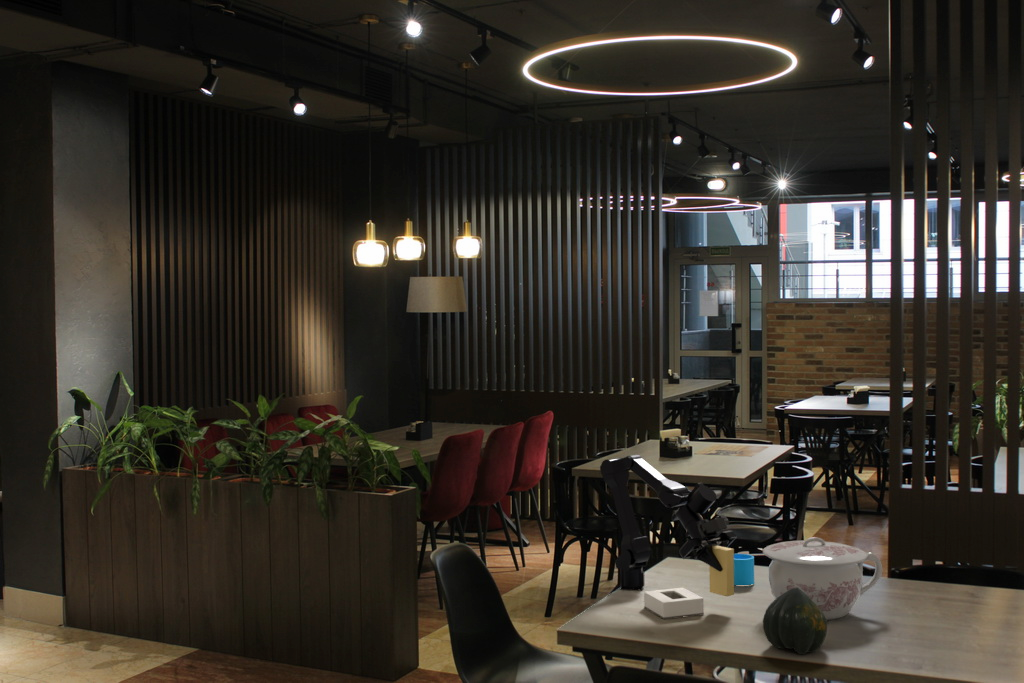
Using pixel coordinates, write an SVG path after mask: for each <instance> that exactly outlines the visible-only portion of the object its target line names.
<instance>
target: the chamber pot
mask: <svg viewBox="0 0 1024 683" xmlns="http://www.w3.org/2000/svg"><path fill="white" fill-rule="evenodd" d="M762 554H763V555H765V556H766V557H768V558H769V559H771V561H770V564H769V566H768V567H767V568H768V581H769V585H770V589H771V594H772V595H773V597H774V600H775V599H776V598H777V597H779V596H780V595H782V594H783V593H785V592H786V591H788V590H790V589H792V588H796V587H798V588H799V589H801V590H802V591H803V592H804V593H805V594H806V595H807V596H808V597H809V598H810V599H811V600H812V601H813V602H814V603H815V604H816V605H817V606H818V607H819V608H820V609H821V610H822V612H823V613H824V615H825V617H826V621H830V620H836V619H840V618H842V617H846V616H847V615H848V614H849V613H850V612H851V611H852V610H853V608H854V606H855V605H856V603H857V602H858V600H859V599H860V598H861V597H862V595H864V594H865V593H866V592H867V591H869V589H871V588H873V587H874V586H875V585H876V584H877V583H878V581H879V580H880V579H881V577H882V574H883V565H882V562H881V560H880V558H879V557H878V556H877V554H875V553H872V552H869V551H868V552H866V550H865V551H864V550H862V549H861V548H858V547H855V546H852V545H848V544H845V543H840V542H833V541H825V540H824V539H823V538H820V537H815V536H814V537H809V538H807V539H805V540H790V541H789V540H788V541H781V542H777V543H773V544H770V545H766V547H764V548H763V549H762ZM867 561H871V562H874V567H875V568H874V569H875V571H874V574H873V576H872V577H871V578H870V579H869V580H868V582H866V583H864V582H863V580H864V579H863V578H864V577H863V575H864V574H863V571H864V569H863V568H864V567H863V566H864V563H865V562H867ZM863 583H864V584H863Z"/></svg>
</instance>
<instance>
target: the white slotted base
mask: <svg viewBox="0 0 1024 683" xmlns="http://www.w3.org/2000/svg"><path fill="white" fill-rule="evenodd" d="M643 594H644V595H643V602H644V603H643V605H644V607H643V608H644V609H646V610H647V609H648V610H647V611H649V612H650V613H652V612H653V613H652V614H654V615H656V616H657V615H658V616H657V617H659V616H660V617H659V618H661V619H662V618H663V620H668V619H667V618H671V619H675V618H674V617H680V618H684V617H683V616H688V617H694V616H693V615H697V616H703V615H702V614H705V613H704V610H705V608H704V607H705V606H704V597H702V596H700V595H698V594H697V593H694V592H692V591H690V590H688V589H686V588H685V587H677V588H667V589H666V588H665V589H657V590H656V589H655V590H647V591H643Z"/></svg>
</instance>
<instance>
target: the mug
mask: <svg viewBox="0 0 1024 683" xmlns="http://www.w3.org/2000/svg"><path fill="white" fill-rule="evenodd" d="M751 584H754V585H755V556H753V555H751V554H747V553H734V585H751Z"/></svg>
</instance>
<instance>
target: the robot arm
mask: <svg viewBox="0 0 1024 683" xmlns="http://www.w3.org/2000/svg"><path fill="white" fill-rule="evenodd" d="M599 470H600V474H601V476H602V479H603V482H604V483H605V484H606V485H607V486H608V487H609V488H610V490H611V493H612V497H613V502H614V505H615V509H616V513H617V517H618V521H619V526H620V529H621V535H622V538H621V542H620V554H619V556H618V557H617V558H616V559H615V561H614V563H615V567H616V569H619V570H620V586H619V589H620V588H621V589H620V590H625V591H626V590H628V591H629V590H631V591H642V590H643V587H645V583H646V582H645V571H643V567H646V566H648V562H649V560H650V557H651V550H652V547H651V545H650V543H649V542H650V541H649V537H648V536H647V535H645V536H643V535H642V533H641V532H640V530H639V527H638V523H637V519H636V515H635V511H634V507H633V503H632V499H631V495H630V492H629V488H628V483H629V480H630V471H631V472H632V473H633V474H635V475H636V476H637V477H638V478H639V479H641V480H642V481H643V482H644V483H645V484H646V485H648V486H649V487H651V489H653V490H654V491H655V492H656V495H657V498H658V500H659V501H660V502H661V503H662V504H663V505H664V506H665V507H666V508H669V509H671V508H674V507H678V508H677V509H676V510H672V515H671V521H672V522H673V521H678V520H679V521H680V523H681V525H682V526H683V528H684V529H685V533H684V535H685V536H686V537H690V538H689V539H687V540H686V541H685V542H684V543H683V545H682V546H681V547H680V548H679V555H680V556H681V558H682V559H683V560H685V559H690V558H691V556H692V552H694V551H695V552H694V553H695V555H694V557H693V558H694V559H695V560H699V561H701V562H702V563H704V564H706V565H708V566H709V565H710V566H711V567H713V568H715V569H716V570H718V571H720V572H721V571H722V570H723V568H722V566H721V564H720V563H719V561H718V559H717V558H716V556H715V554H714V553H713V549H712V546H716V545H717V546H722V547H726V548H729V546H730V545H731V544H732V543H734V541H735V540H736V539H737V538H738V536H737V534H736V533H735V532H734V531H733V530H726V529H728V526H729V524H730V521H729V519H728V517H727V516H726V515H725V514H720V515H718V516H716V517H715V518H714V519H710V520H709V519H704V518H703V516H702V515H701V514H705V513H706V512H707V510H708V509H709V508H710V507H712V505H713V504H714V503H715V502H716V500H717V497H718V496H717V494H716V492H715V490H714V489H712V488H710V487H708V486H707V485H705V484H704V483H703V482H698V483H696V484H695V486H694V487H693V489H692V490H690V489H688V488H687V487H686V486H684V485H683V484H681V483H679V482H677V481H674V480H670V479H668V478H667V477H665V476H664V475H663V474H662V473H661V472H660V471H658V470H657V469H656V468H654V467H653V466H652V465H651V464H649V463H648V462H647V461H645V460H644V459H643V457H642V455H639V454H631V455H627V456H624V457H615V458H609V459H604V460H602V462H601V465H600V466H599ZM722 530H725V531H722ZM719 531H721V533H720V532H719Z"/></svg>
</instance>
